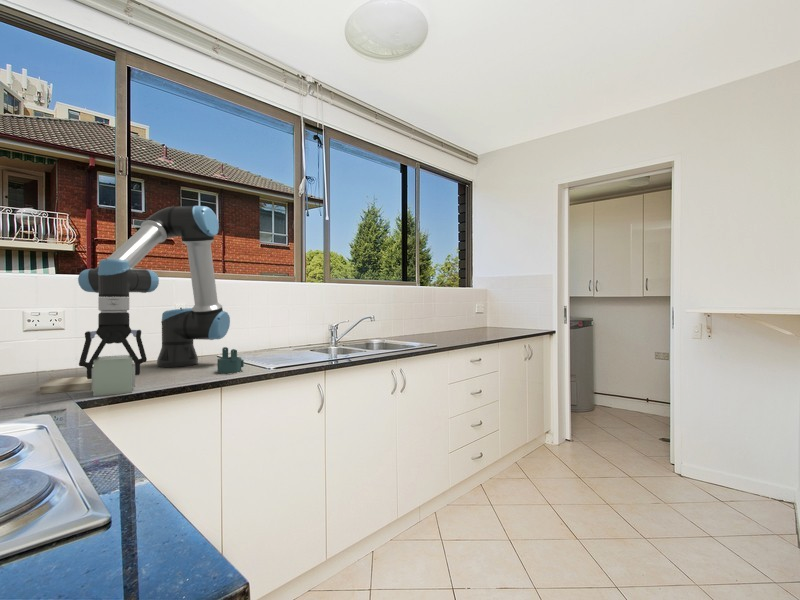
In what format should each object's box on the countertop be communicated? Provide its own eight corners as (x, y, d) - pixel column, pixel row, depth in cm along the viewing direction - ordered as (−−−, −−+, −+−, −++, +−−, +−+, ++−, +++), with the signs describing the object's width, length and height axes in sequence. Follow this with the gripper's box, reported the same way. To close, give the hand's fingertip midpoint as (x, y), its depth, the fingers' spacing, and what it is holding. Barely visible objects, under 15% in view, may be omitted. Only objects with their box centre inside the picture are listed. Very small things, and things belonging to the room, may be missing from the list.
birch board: (104, 380, 138) (104, 374, 138) (100, 388, 126) (99, 382, 126) (50, 385, 131) (50, 379, 131) (39, 394, 119) (39, 387, 119)
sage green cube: (132, 386, 128) (132, 354, 128) (131, 392, 120) (131, 358, 120) (97, 390, 124) (97, 356, 124) (93, 396, 116) (93, 360, 116)
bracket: (234, 374, 150) (235, 349, 150) (211, 373, 152) (211, 349, 152) (247, 370, 159) (247, 347, 159) (225, 369, 161) (225, 346, 161)
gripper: (64, 312, 113) (65, 395, 113) (157, 311, 124) (157, 386, 124) (69, 312, 120) (69, 389, 120) (156, 310, 131) (156, 382, 131)
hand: (114, 388), depth 122 cm, fingers closed on sage green cube, 9 cm apart
